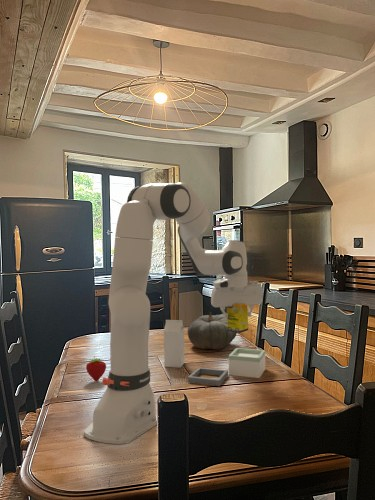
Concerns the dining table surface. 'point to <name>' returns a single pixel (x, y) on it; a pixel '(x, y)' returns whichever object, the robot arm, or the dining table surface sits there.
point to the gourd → (210, 332)
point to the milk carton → (174, 343)
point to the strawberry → (96, 368)
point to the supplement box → (237, 318)
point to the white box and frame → (234, 367)
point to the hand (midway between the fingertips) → (237, 317)
